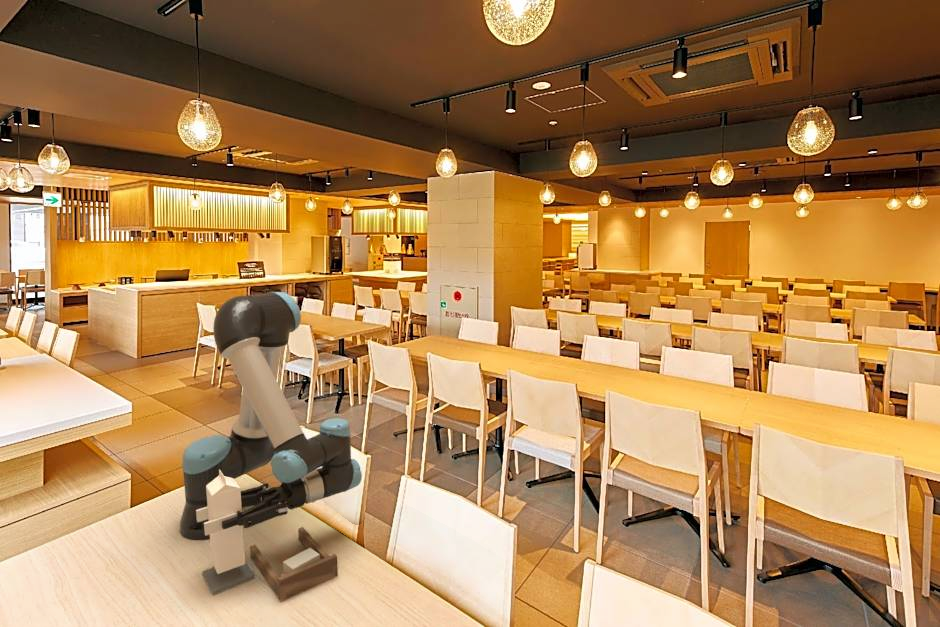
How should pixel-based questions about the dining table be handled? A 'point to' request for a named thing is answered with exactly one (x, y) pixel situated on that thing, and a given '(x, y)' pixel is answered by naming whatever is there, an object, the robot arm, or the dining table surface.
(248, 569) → the slate pad
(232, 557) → the milk
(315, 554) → the offcut top
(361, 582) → the dining table surface
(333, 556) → the rack
